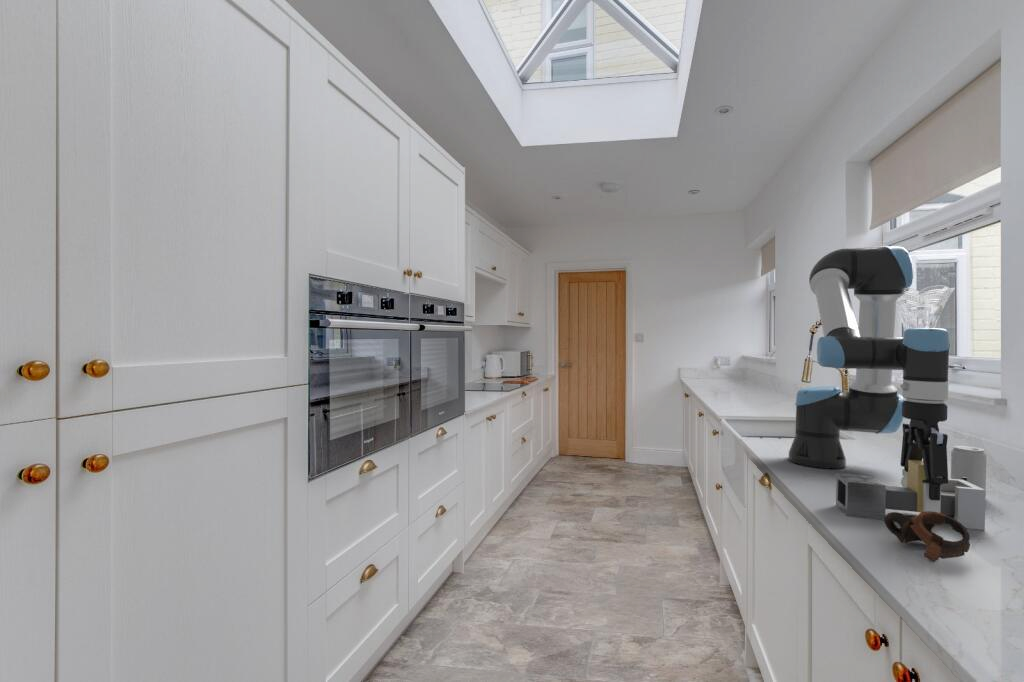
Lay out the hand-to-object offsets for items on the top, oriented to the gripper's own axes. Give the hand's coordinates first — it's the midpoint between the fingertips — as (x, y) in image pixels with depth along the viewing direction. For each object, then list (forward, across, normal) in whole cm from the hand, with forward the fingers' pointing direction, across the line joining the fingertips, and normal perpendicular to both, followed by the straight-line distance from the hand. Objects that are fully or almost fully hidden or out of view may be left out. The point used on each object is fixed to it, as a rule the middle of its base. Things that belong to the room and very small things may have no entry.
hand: (921, 508), depth 109 cm
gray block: (+2, 0, -12) cm, 12 cm away
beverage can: (+2, -22, +18) cm, 29 cm away
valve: (+3, -16, +9) cm, 18 cm away
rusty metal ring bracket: (+2, +20, -8) cm, 22 cm away
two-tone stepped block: (0, 0, -2) cm, 2 cm away
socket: (+2, 0, +7) cm, 7 cm away
